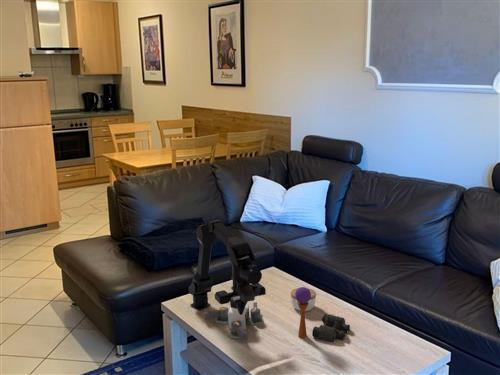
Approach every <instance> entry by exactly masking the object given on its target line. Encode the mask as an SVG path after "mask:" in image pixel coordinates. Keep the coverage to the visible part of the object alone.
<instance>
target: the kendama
mask: <svg viewBox="0 0 500 375" xmlns="http://www.w3.org/2000/svg"><path fill="white" fill-rule="evenodd" d="M297 288H298V289H297V290H296V292H295V297H296V300H297V301H298V302H297V303H298V306H299V308H300V310H301V311H300V317H299V319H300V320H299V321H300V322H299V328H298V335H297V336H298V338H299V339H306V338H308V336H307V334H308V333H307V325H306V316H305V312H306V311H305V309H306V308H307V306H308V304H309V303H308V301H309V300H310V298H311V292H310V290H309V289H310V288H309V289H307V288H308V287H305V286H300V287H297ZM304 311H305V312H304Z"/></svg>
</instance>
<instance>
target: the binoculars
mask: <svg viewBox="0 0 500 375" xmlns="http://www.w3.org/2000/svg"><path fill="white" fill-rule="evenodd" d="M321 322H322V323H323V324H320V326H315V325H314V327H313V328H312V331H311V332H312V333H311V335H312V337H314V338H317V339H320V340H324V341H328V342H335V341H336V338H337V339H340V340H344V339H345V338H346V333H347V331H348V330H349V331H350V330H351V329H350V328H351V325H350V324H346V319H345V317H341V316H337V315H334V314H329V313H324V314H323V315H322V317H321ZM349 331H348V332H349ZM344 337H345V338H344ZM343 338H344V339H343ZM334 340H335V341H334Z"/></svg>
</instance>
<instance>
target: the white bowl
mask: <svg viewBox="0 0 500 375" xmlns="http://www.w3.org/2000/svg"><path fill="white" fill-rule="evenodd" d="M298 288H299V287H297V288H294V289H292V290H291V291H290V297H291V298H290V300H291V304H292V307H293V308H294V309H295V310H296V311H298V312H301V310H300V308H299V306H298V303H297V302H298V301H297V300H296V297H295V292H296V290H297V289H298ZM306 288H307V289H309V290H310V292H311V298H310V300H309V301H308V303H309V304H308V306H307V308H306V309H305V311H304V313H305V312H309V311H311V310H312V309H313V308H314V307H315V306H316V299H317V298H316V297H317V292H316V291H315V290H314V289H313V288H309V287H306Z"/></svg>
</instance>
